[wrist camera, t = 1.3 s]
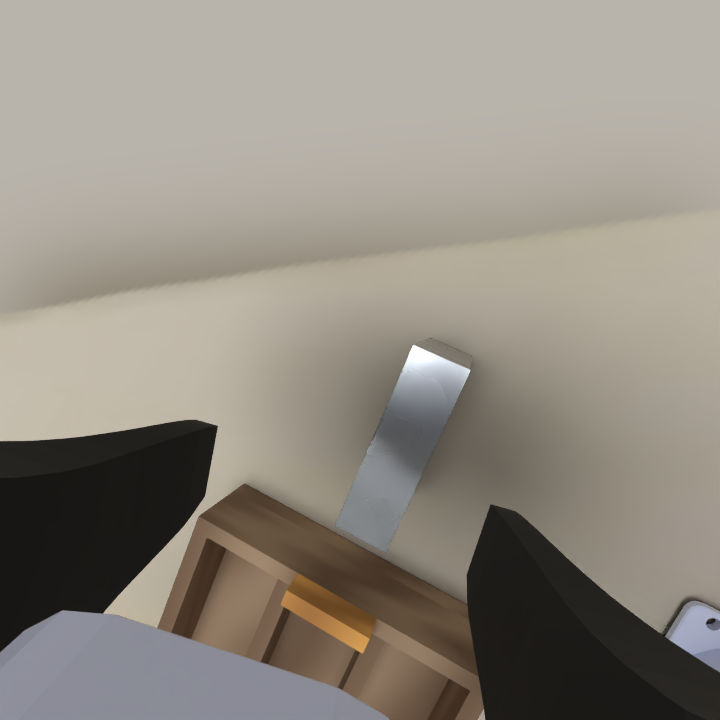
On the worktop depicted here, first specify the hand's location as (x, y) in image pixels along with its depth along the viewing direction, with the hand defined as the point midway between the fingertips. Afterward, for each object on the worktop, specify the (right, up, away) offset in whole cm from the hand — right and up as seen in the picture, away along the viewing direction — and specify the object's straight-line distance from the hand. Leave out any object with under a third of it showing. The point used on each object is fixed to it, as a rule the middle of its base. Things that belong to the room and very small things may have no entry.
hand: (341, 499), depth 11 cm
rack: (-2, -11, +12) cm, 16 cm away
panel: (+3, +1, +10) cm, 10 cm away
